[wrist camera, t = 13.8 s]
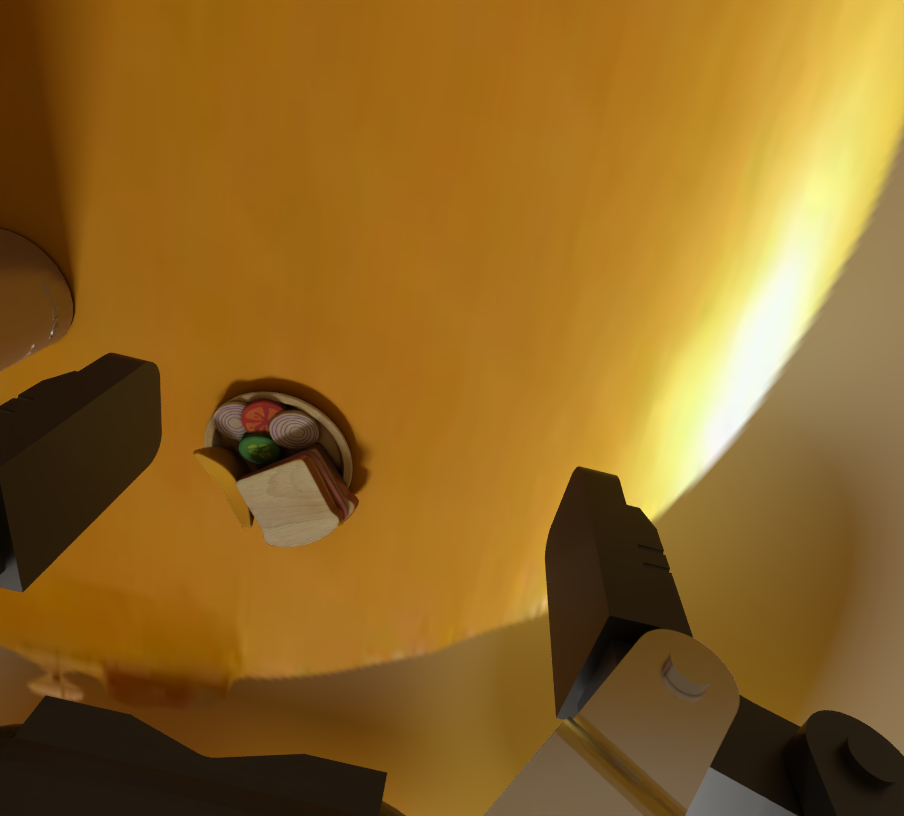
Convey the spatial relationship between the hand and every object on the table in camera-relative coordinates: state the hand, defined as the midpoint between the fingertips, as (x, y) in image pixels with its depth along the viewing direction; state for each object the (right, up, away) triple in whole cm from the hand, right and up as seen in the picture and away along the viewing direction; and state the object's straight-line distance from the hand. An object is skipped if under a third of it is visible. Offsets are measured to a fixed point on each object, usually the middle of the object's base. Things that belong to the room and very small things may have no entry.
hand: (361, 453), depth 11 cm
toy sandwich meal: (-12, -3, +38) cm, 40 cm away
